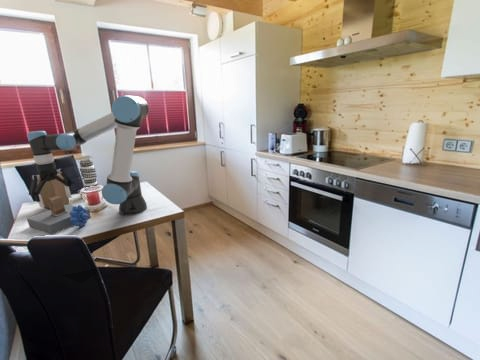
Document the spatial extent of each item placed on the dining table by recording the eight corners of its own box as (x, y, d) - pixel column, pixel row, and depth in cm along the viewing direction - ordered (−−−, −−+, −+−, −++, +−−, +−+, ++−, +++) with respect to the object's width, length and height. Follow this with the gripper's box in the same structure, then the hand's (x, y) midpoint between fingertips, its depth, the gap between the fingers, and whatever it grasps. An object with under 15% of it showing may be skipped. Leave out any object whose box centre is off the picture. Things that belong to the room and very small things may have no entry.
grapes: (82, 232, 124) (77, 209, 120) (69, 232, 124) (63, 210, 121) (96, 221, 135) (91, 200, 131) (84, 221, 135) (78, 200, 132)
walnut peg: (68, 221, 137) (62, 196, 133) (59, 224, 133) (52, 200, 129) (63, 219, 139) (56, 195, 135) (54, 223, 135) (47, 198, 131)
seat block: (90, 217, 140) (88, 209, 139) (52, 234, 123) (49, 225, 122) (68, 212, 149) (66, 204, 147) (29, 227, 131) (26, 218, 130)
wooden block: (70, 202, 164) (62, 172, 158) (58, 208, 154) (49, 177, 148) (56, 202, 165) (48, 173, 159) (43, 208, 155) (34, 177, 149)
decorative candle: (82, 195, 176) (74, 160, 169) (94, 191, 184) (86, 157, 177) (92, 196, 173) (83, 161, 165) (103, 192, 181) (96, 158, 174)
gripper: (65, 157, 138) (75, 193, 145) (11, 168, 117) (25, 210, 123) (74, 157, 135) (83, 194, 141) (19, 169, 114) (33, 212, 120)
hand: (56, 202), depth 132 cm, fingers open, 13 cm apart
